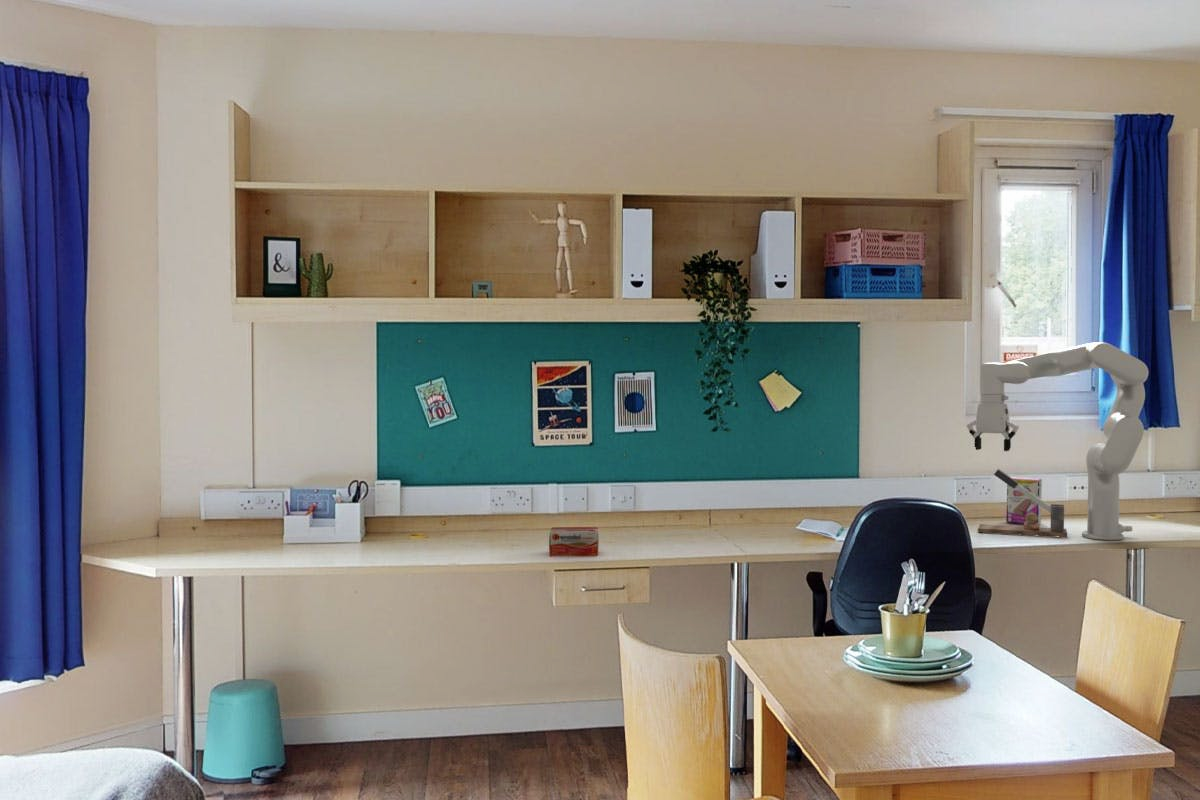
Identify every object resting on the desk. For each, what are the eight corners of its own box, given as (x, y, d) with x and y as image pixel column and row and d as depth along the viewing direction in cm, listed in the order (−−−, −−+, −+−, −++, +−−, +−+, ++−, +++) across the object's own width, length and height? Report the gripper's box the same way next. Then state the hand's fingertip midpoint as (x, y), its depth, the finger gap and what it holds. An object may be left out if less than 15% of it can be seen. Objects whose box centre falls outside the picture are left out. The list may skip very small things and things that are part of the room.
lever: (1057, 518, 367) (1062, 513, 367) (1058, 519, 364) (1062, 514, 363) (994, 473, 374) (998, 468, 373) (994, 474, 371) (998, 469, 370)
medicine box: (549, 557, 331) (549, 531, 330) (550, 552, 339) (550, 526, 338) (598, 557, 331) (598, 531, 330) (598, 552, 339) (598, 526, 338)
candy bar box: (1005, 523, 391) (1006, 478, 390) (1008, 521, 395) (1009, 476, 394) (1038, 525, 385) (1039, 479, 384) (1041, 523, 389) (1042, 478, 388)
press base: (1066, 533, 369) (1066, 504, 369) (1067, 537, 360) (1067, 508, 360) (979, 528, 380) (979, 500, 379) (978, 532, 370) (978, 503, 370)
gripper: (1022, 399, 359) (1022, 450, 360) (971, 398, 371) (972, 448, 372) (1013, 400, 354) (1013, 452, 354) (962, 399, 365) (962, 449, 366)
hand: (992, 450), depth 363 cm, fingers open, 9 cm apart
